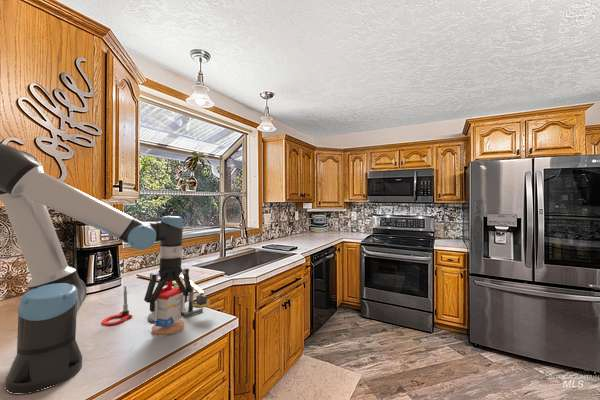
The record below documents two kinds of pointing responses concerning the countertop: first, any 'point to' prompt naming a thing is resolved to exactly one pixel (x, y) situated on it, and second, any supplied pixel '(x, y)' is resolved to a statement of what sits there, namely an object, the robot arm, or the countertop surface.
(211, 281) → the countertop surface
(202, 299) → the balance
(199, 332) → the countertop surface
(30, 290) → the robot arm
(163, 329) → the dish low
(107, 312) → the countertop surface
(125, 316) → the tow hook
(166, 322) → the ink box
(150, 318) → the dish high
